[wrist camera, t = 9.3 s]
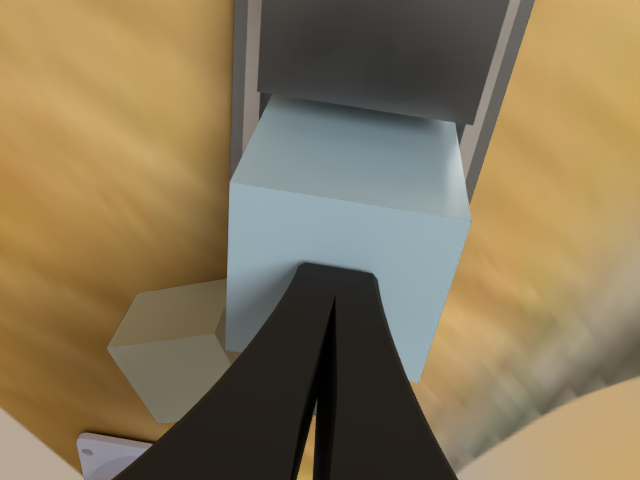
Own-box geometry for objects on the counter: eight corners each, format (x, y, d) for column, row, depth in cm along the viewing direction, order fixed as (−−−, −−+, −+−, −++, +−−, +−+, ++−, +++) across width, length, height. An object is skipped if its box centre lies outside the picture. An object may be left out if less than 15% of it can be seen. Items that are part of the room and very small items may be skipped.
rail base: (431, 302, 20) (438, 436, 16) (233, 269, 20) (186, 393, 16) (551, -88, 13) (625, -41, 9) (248, -132, 13) (171, -109, 9)
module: (416, 220, 17) (421, 383, 12) (275, 197, 17) (222, 349, 12) (450, 86, 14) (475, 221, 9) (286, 60, 14) (226, 182, 10)
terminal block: (272, 351, 23) (257, 414, 21) (182, 363, 24) (157, 424, 22) (236, 274, 21) (214, 333, 18) (139, 290, 22) (106, 348, 19)
